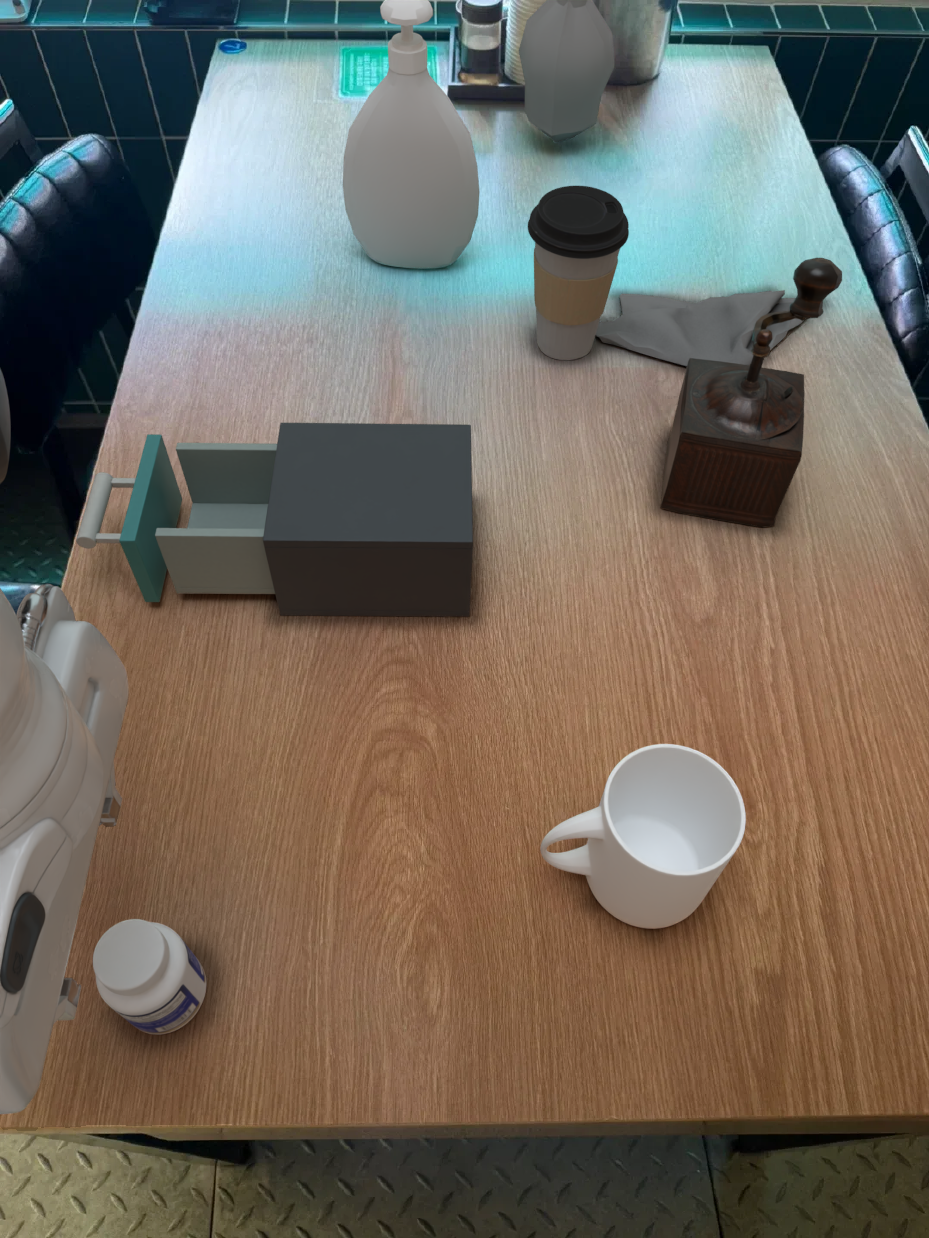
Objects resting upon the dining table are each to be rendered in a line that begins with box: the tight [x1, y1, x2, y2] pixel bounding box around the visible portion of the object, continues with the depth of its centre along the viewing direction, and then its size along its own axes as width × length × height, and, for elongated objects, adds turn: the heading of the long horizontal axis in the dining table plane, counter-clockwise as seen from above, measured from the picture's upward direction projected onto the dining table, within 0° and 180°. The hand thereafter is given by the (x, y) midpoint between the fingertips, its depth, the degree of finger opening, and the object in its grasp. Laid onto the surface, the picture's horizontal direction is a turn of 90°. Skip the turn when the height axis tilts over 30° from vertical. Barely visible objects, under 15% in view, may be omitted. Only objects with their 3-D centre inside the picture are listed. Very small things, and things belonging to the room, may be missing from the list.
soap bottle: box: [342, 0, 480, 270], centre depth 96 cm, size 14×8×27 cm, turn 86°
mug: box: [539, 743, 747, 929], centre depth 61 cm, size 9×12×11 cm
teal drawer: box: [75, 433, 277, 603], centre depth 77 cm, size 19×11×8 cm, turn 90°
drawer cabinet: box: [263, 422, 474, 618], centre depth 78 cm, size 16×13×10 cm
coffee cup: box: [527, 185, 630, 361], centre depth 93 cm, size 9×9×15 cm
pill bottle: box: [92, 918, 207, 1035], centre depth 57 cm, size 5×5×9 cm
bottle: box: [518, 0, 615, 144], centre depth 110 cm, size 11×11×30 cm
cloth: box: [595, 289, 804, 367], centre depth 99 cm, size 26×14×2 cm, turn 93°
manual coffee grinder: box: [660, 257, 843, 528], centre depth 82 cm, size 16×11×18 cm
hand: (84, 903), depth 47 cm, fingers open, 8 cm apart
